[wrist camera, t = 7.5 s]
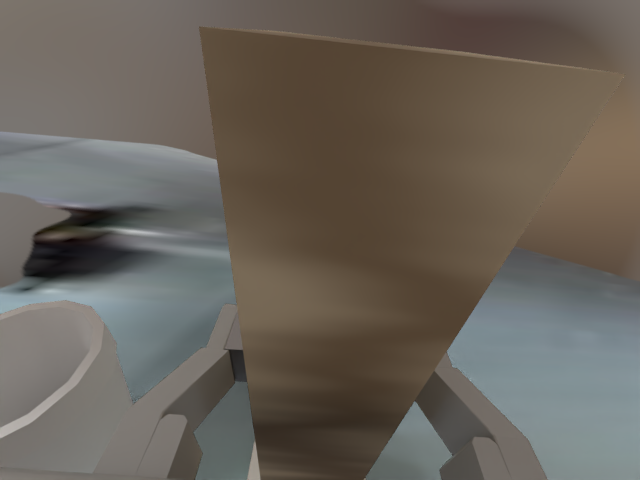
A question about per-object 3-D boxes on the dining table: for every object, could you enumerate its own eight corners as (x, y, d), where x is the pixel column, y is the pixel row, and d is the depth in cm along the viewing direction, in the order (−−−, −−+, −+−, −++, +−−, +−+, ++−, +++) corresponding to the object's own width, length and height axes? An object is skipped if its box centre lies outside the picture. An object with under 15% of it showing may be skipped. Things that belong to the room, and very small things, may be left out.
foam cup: (178, 437, 25) (130, 356, 17) (46, 562, 19) (-123, 525, 11) (128, 370, 29) (71, 281, 21) (7, 453, 23) (-133, 371, 15)
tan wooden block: (263, 500, 13) (198, 26, 3) (276, 409, 16) (273, 30, 6) (346, 506, 13) (626, 73, 3) (343, 414, 17) (463, 51, 6)
